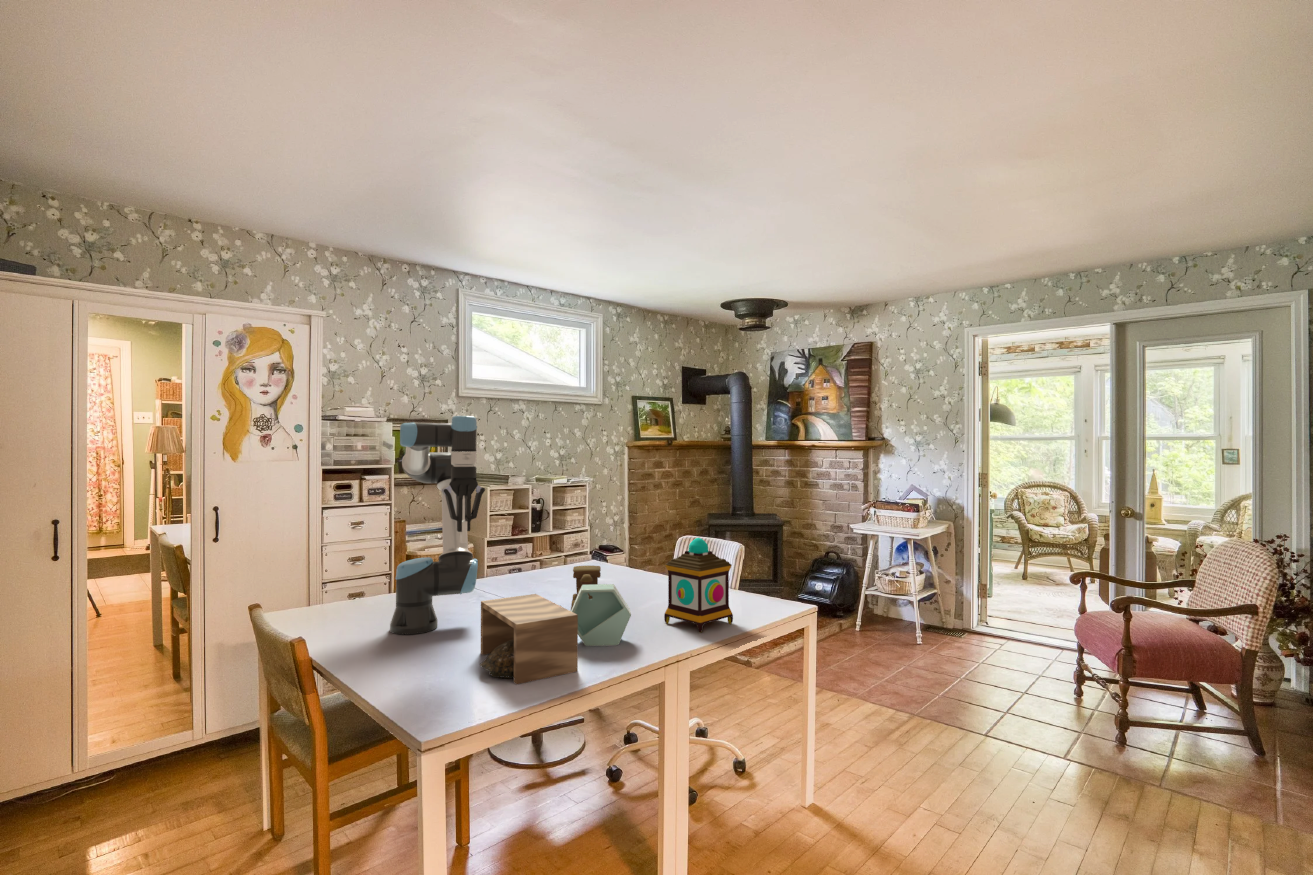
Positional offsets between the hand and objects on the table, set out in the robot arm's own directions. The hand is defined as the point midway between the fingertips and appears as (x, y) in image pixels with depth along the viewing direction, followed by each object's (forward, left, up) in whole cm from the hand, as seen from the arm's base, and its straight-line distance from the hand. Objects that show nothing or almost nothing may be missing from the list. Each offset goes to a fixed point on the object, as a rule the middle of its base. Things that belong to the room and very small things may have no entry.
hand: (463, 542), depth 193 cm
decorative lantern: (+18, +77, -33) cm, 86 cm away
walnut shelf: (+23, +11, -32) cm, 41 cm away
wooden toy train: (-13, +49, -33) cm, 60 cm away
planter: (+18, +38, -33) cm, 53 cm away
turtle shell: (+26, +6, -33) cm, 43 cm away
